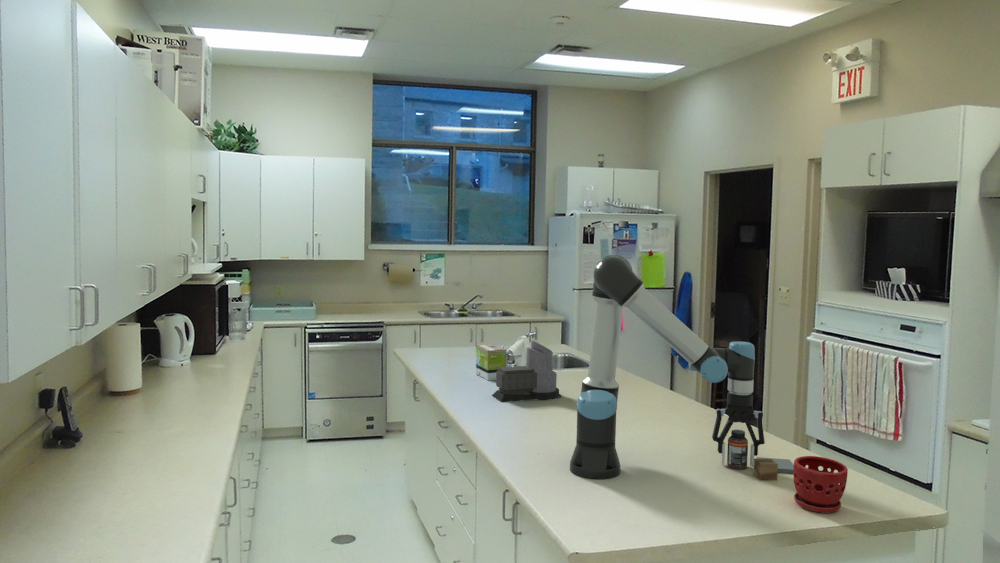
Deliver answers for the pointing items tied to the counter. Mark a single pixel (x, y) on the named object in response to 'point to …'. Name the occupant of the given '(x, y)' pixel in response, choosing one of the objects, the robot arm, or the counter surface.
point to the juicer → (528, 377)
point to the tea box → (489, 360)
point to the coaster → (782, 465)
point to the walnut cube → (765, 469)
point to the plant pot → (819, 483)
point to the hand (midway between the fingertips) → (737, 464)
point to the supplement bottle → (737, 450)
